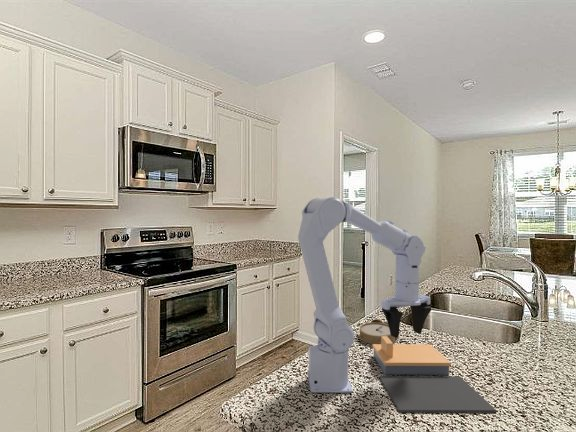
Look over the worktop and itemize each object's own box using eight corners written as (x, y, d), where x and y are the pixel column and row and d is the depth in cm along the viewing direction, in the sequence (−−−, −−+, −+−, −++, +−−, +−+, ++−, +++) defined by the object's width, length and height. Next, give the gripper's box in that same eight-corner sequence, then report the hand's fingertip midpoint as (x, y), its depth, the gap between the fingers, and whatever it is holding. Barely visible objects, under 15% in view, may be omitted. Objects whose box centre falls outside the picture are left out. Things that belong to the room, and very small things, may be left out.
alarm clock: (352, 330, 107) (374, 312, 118) (353, 344, 108) (375, 325, 119) (384, 340, 99) (405, 319, 110) (385, 355, 100) (406, 333, 111)
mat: (399, 412, 68) (399, 409, 68) (379, 378, 82) (379, 376, 82) (496, 412, 68) (496, 410, 68) (459, 378, 82) (460, 376, 82)
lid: (384, 368, 83) (385, 348, 83) (372, 349, 95) (372, 331, 95) (450, 369, 83) (451, 348, 83) (430, 350, 95) (430, 332, 95)
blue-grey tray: (385, 375, 83) (385, 365, 83) (373, 356, 94) (373, 347, 94) (448, 375, 84) (449, 365, 84) (429, 356, 95) (429, 347, 95)
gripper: (395, 287, 79) (394, 344, 79) (440, 282, 85) (439, 335, 85) (376, 281, 85) (375, 334, 85) (419, 277, 91) (418, 326, 91)
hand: (406, 334), depth 85 cm, fingers open, 7 cm apart
